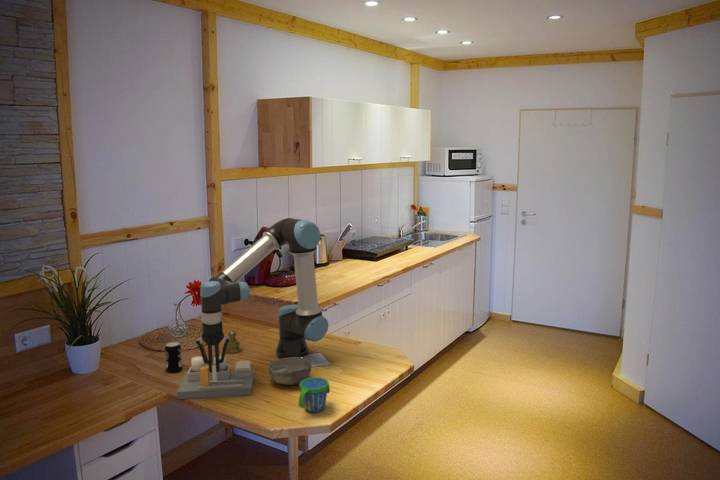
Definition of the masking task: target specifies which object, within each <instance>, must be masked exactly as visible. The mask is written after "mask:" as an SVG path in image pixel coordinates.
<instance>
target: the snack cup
mask: <svg viewBox="0 0 720 480" xmlns="http://www.w3.org/2000/svg"><path fill="white" fill-rule="evenodd" d="M298 384H299V388H300V394H299V398H298V407H299V408H302V409H305V410H306V411H307V412H308V411H310V412H309V413H315V412H316V413H319V412H318V411H320V412H322V411H324V409H325V408H326V404H327V396H328V395H327V394H329V393H330V392H331V391H330V390H331V389H330V383H329V380H327V379H326V378H323V377H315V376H314V377H306V378H305V379H304V380H302V381H301V382H300V383H298ZM321 410H322V411H321Z"/></svg>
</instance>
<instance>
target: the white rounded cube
mask: <svg viewBox="0 0 720 480" xmlns="http://www.w3.org/2000/svg"><path fill="white" fill-rule="evenodd" d="M190 361H191V367H192V372H200V369H201V367H204V366H205V363H204V361H203V358H202V355H201V356H199V355H198V356H193V357H191V359H190Z"/></svg>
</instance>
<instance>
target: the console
mask: <svg viewBox="0 0 720 480" xmlns="http://www.w3.org/2000/svg"><path fill="white" fill-rule="evenodd" d="M204 367H209V365H204ZM209 377H210V385H209V386H201V380H200V372H192V366H189V369H188V372H187V373H184V376H183V379H182V380H181V382H180V385H179V387H178V389H177V392H176V397H177V398H176V399H177V400H189V399H206V398H209V399H211V398H222V397H223V398H227V397H241V396H240V395H246V396H252V393H253V388H254V383H253V382H255V370H254V369H252V367H250V371H239V372H236V370H233V371H232V369H231V364H227V369H226V370H224V371H219V372H217V381H213V378H212V372H211V373H210V372H209ZM226 396H227V397H226Z"/></svg>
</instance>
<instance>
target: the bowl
mask: <svg viewBox="0 0 720 480" xmlns="http://www.w3.org/2000/svg"><path fill="white" fill-rule="evenodd" d="M267 370H268V372H269V375H270V376H271V379H273V381H274V382H276V383H277V384H281V385H285V386H292V385H293V386H294V385H298V384H300V382H301V381H302V380H304V379H307V378H308V376H309V375H310V373H311V371H312V362H311V361H310V360H309V359H307V358H305V357H303V358H301V357H289V358H279V359H276V360H272V361H270V363H269V364H268V366H267Z"/></svg>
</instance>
